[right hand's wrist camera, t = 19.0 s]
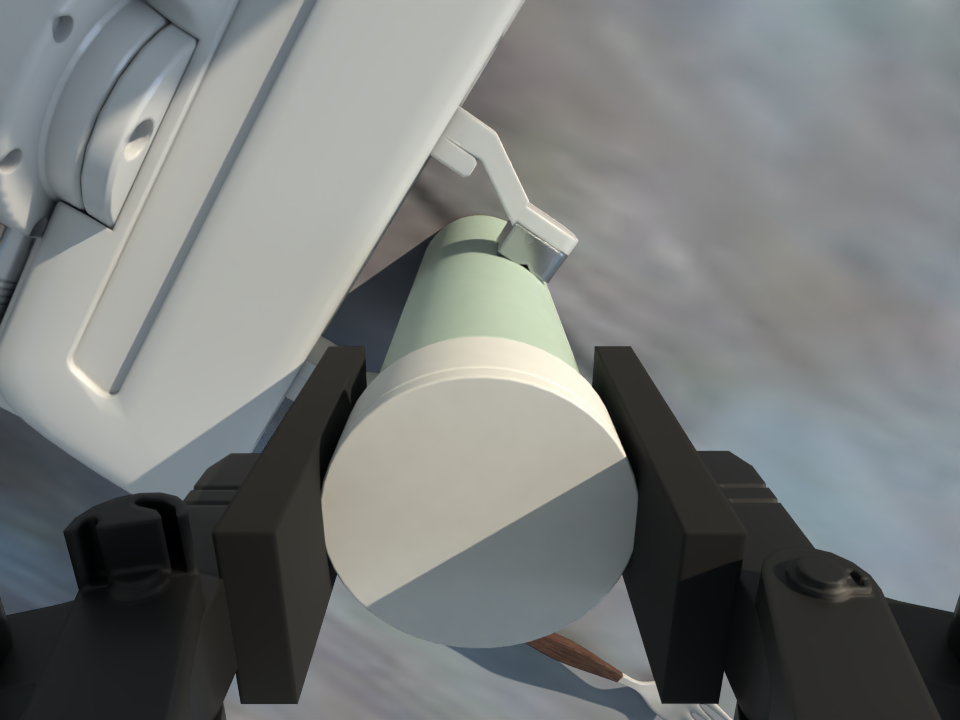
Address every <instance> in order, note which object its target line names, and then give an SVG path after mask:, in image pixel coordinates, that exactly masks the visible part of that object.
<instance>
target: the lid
mask: <svg viewBox="0 0 960 720" xmlns="http://www.w3.org/2000/svg"><path fill="white" fill-rule="evenodd" d="M321 503H322V514H323V524H324V534H325V544H326V552H327V555H328V557H329V559H330V561H331V563H332V566H333V568H334V570H335V571H336V573H337V574H338V576H339V578H340V579H341V581H342V582H343V584H344V585H345V586H346V588H347V589H348V590H349V591H350V592H351V594H352V595H353V596H354V597H355V598H356V599H357V600H358V601H359V602H360V603H361V604H362V605H363V606H364V607H365V608H367V609H368V610H369V611H370V612H372V613H373V614H374V615H376V616H377V617H378V618H380V619H381V620H383V621H384V622H386V623H388V624H389V625H391V626H393V627H395V628H397V629H398V630H400V631H403V632H405V633H407V634H410V635H412V636H415V637H417V638H420V639H423V640H427V641H430V642H433V643H438V644H443V645H448V646H453V647H464V648H496V647H504V646H512V645H516V644H521V643H525V642H530V641H533V640H536V639H539V638H542V637H545V636H547V635H550V634H552V633H554V632H556V631H558V630H560V629H563V628H565V627H566V626H568V625H570V624H571V623H573V622H575V621H576V620H578V619H580V618H581V617H582V616H584V615H585V614H586V613H587V612H589V611H590V610H591V609H593V608H594V607H595V606H596V605H597V604H598V603H599V602H600V601H601V600H602V599H603V598H604V597H605V596H606V595H607V594H608V593H609V592H610V590H611V589H612V588H613V586H614V585H615V584H616V583H617V581H618V580H619V578H620V577H621V575H622V573H623V571H624V570H625V568H626V566H627V564H628V562H629V560H630V557H631V555H632V552H633V546H634V536H635V526H636V516H637V506H638V488H637V484H636V479H635V475H634V473H633V470H632V468H631V465H630V463H629V460H628V458H627V456H626V453H625V451H624V449H623V446H622V444H621V441H620V439H619V437H618V434H617V432H616V430H615V427H614V425H613V423H612V420H611V418H610V415H609V413H608V411H607V409H606V407H605V405H604V404H603V402H602V400H601V399H600V397H599V395H598V394H597V393H596V392H595V390H594V389H593V388H592V387H591V385H590V384H589V383H588V382H587V381H586V380H585V379H584V378H583V377H582V376H581V375H580V374H579V373H578V372H577V371H576V370H575V369H573V368H572V367H571V366H569V365H568V364H566V363H565V362H563V361H562V360H561V359H559V358H557V357H555V356H554V355H552V354H550V353H548V352H546V351H544V350H542V349H539V348H537V347H534V346H531V345H528V344H526V343H522V342H518V341H514V340H509V339H504V338H495V337H463V338H457V339H450V340H445V341H441V342H438V343H434V344H430V345H427V346H425V347H423V348H420V349H418V350H416V351H413V352H411V353H409V354H407V355H406V356H404V357H402V358H401V359H399V360H397V361H395V362H394V363H393V364H391V365H390V366H389V367H388V368H386V369H385V370H384V371H382V372H381V373H380V374H379V375H378V376H377V377H376V378H375V379H374V380H373V381H372V382H371V383H370V384H369V385H368V386H367V388H366V389H365V391H364V392H363V393H362V395H361V396H360V397H359V399H358V400H357V402H356V404H355V406H354V408H353V410H352V412H351V413H350V415H349V418H348V420H347V423H346V425H345V427H344V430H343V432H342V434H341V437H340V439H339V442H338V444H337V446H336V449H335V451H334V454H333V456H332V458H331V460H330V463H329V466H328V468H327V471H326V474H325V477H324V480H323V484H322V490H321Z"/></svg>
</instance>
